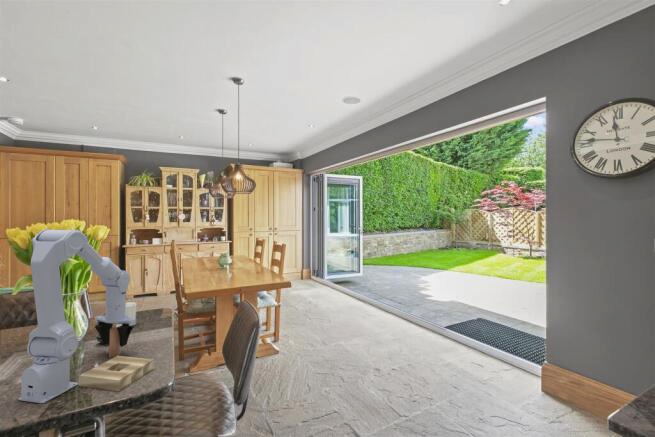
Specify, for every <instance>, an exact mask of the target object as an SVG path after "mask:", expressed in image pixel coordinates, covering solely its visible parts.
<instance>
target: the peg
mask: <svg viewBox="0 0 655 437" xmlns="http://www.w3.org/2000/svg"><path fill="white" fill-rule="evenodd" d="M108 347H109V349H108V350H109V352H108V353H109V356H108V357H109V358H110V359H112V358H114V357H116V356H121V347H120V340H119V333H118V330H117V327H116V326H114V327H112V328H111V329H110V345H109V346H108Z"/></svg>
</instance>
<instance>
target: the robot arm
mask: <svg viewBox="0 0 655 437" xmlns="http://www.w3.org/2000/svg"><path fill="white" fill-rule="evenodd" d="M31 242H32V250H33V251H32V255H31V259H30V270H31V271H30V272H31V278H32V279H31V280H32V287H33V295H34V305H35V311H36V320H37V327H35V328H34V329H33V330H32V331H30V332H29V333H28V334H29V335H28V338H29V339H28V343H27V347H26V352H27V354H28V356H31V357H32V362H33V361H34V363H32V365H31V366H29V367H28V368H25V369H24V371H22V374H21V378H20V380H21V381H20V397H18V401H23V402H30V403H37V404H45V403H47V402H49V401H50V400H52V399H54V398H56V397H58V396H60V395H62V394H63V393H65V392H68V391H69V390H71V389H73V388H75V387H76V386H79V382H74V381H71V357H72V356H73V355H74V353H75V352H76V350H77V348H78V346H79V337H78V335H77V334H76V332H75V327H73V326H72V324H70V323H69V322H68V321H66V316H65V307H64V297H63V290H62V289H63V288H62V282H61V281H62V280H61V272H60V267H61V265H62V263H64V262H66V261H67V260H69V259H70V258H71V257H73V256H74V255H76V256H78V257H79V258H81V259H82V260H84V261H85V262H86V263H87V264H89V265H90V268H89V269H90V271H91V272H92V273H93V274H94V275H96V276H97V277H99V280H100V283H101V286H103V287H105V307H104V308H105V309H104V310H105V312H104V315H105V316H103V315H99V316H95V317H94V323H95V324H96V325H94V328H95V330H96V331H97V332H98V334H100V337H101V340H102V343H103V345H106V344H108V343H110V329H111V328H113V326H114V325H115V324H122V326H119V327H117V330H118V333H119V340H120V348H123V347H125V346H126V345H127V344H128V341H129V338H130V335H131V332H132V331H133V329H134V328H135V327H134V326H135V325H136V324H137V318H131V317H127V315H125V305H126V303H127V302H126V301H127V300H126V299H127V296H126V295H127V294H126V293H127V291H128V288H129V284H130V282H131V277H130V274H129V272H128V271H126V270H123V269H122V270H121V269H120V267H119V266H118V265H116V264H115V263H114V262H113V261H112V258H111V257H107V256H101V255H100V254H99V253H98V252H97V250H95V249H94V247H93V246H92V245H91V244H90V243H89V241H88V236H87V235H85V234H84V233H83V231H81V230H79V229H50V228H45V229H42V230H40V231H39V232H38V233H37V234H36V235H35V236H34V237H33V238H32V239H31Z"/></svg>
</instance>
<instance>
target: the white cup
mask: <svg viewBox="0 0 655 437" xmlns="http://www.w3.org/2000/svg"><path fill="white" fill-rule="evenodd" d="M137 305H138V303H137V302H133V301H131V302H130V301H128V302H126V305H125V315H127V317H131V318H135V319H137ZM119 326H122V324H116V325H115V327H119ZM133 328H135V326H134V327H133Z"/></svg>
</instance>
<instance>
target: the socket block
mask: <svg viewBox="0 0 655 437" xmlns="http://www.w3.org/2000/svg"><path fill="white" fill-rule="evenodd" d="M152 370H154V359H151V358H143V357H133V356H124V355H123V356H122V355H120V356H116V357H114V358H110V359H108V360H107V361H104V362H103V363H101V364H99V365H97V366H95V367H93V368H91V369H89V370H87V371H85V372H83V373H81V374H79V375H78V386H79V387H82V388H91V389H99V390H107V391H116V392H120V391H121V390H123V389H125V388H126V387H128V386H129V385H131V384H132V383H134V382H136V381H137V380H138V379H140V378H142V377H143V376H146V374H148V373H149V372H151V371H152Z"/></svg>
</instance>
